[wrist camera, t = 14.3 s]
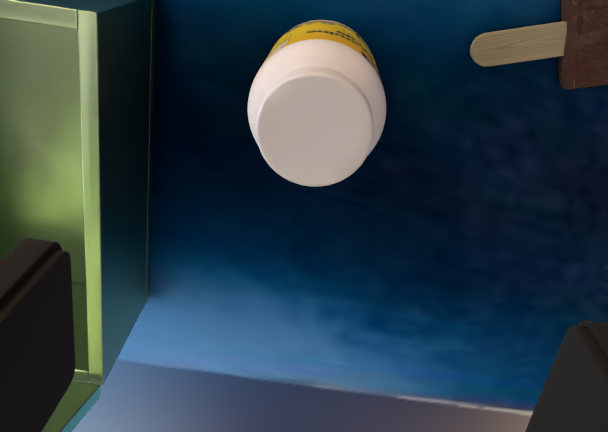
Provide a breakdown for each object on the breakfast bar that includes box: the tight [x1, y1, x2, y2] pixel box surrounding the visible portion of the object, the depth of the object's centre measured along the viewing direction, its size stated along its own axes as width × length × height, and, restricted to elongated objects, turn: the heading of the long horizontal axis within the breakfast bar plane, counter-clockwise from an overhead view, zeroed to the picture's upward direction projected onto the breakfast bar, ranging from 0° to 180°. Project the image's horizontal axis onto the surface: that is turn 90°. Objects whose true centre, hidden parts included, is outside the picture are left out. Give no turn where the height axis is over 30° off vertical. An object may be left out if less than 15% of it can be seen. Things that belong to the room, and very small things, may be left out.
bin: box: [0, 0, 156, 385], centre depth 32 cm, size 20×13×9 cm, turn 172°
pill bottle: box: [248, 20, 386, 187], centre depth 28 cm, size 6×6×11 cm
